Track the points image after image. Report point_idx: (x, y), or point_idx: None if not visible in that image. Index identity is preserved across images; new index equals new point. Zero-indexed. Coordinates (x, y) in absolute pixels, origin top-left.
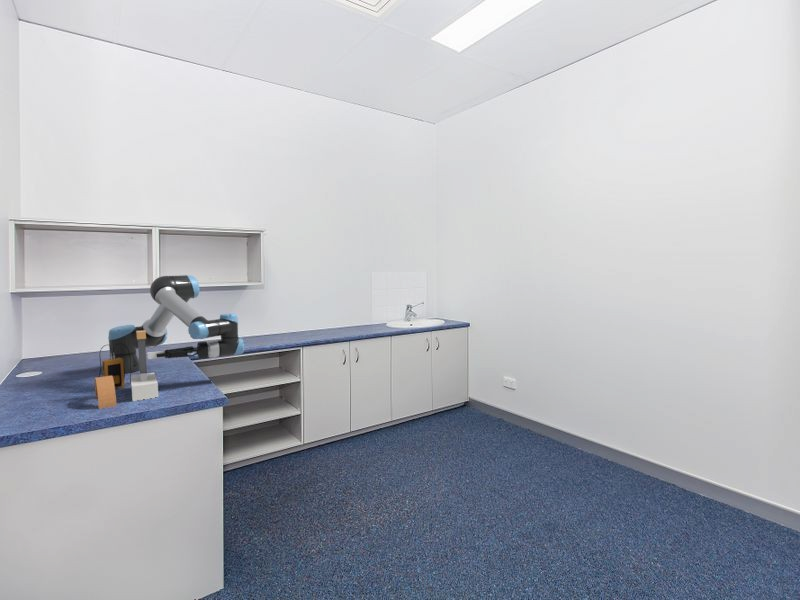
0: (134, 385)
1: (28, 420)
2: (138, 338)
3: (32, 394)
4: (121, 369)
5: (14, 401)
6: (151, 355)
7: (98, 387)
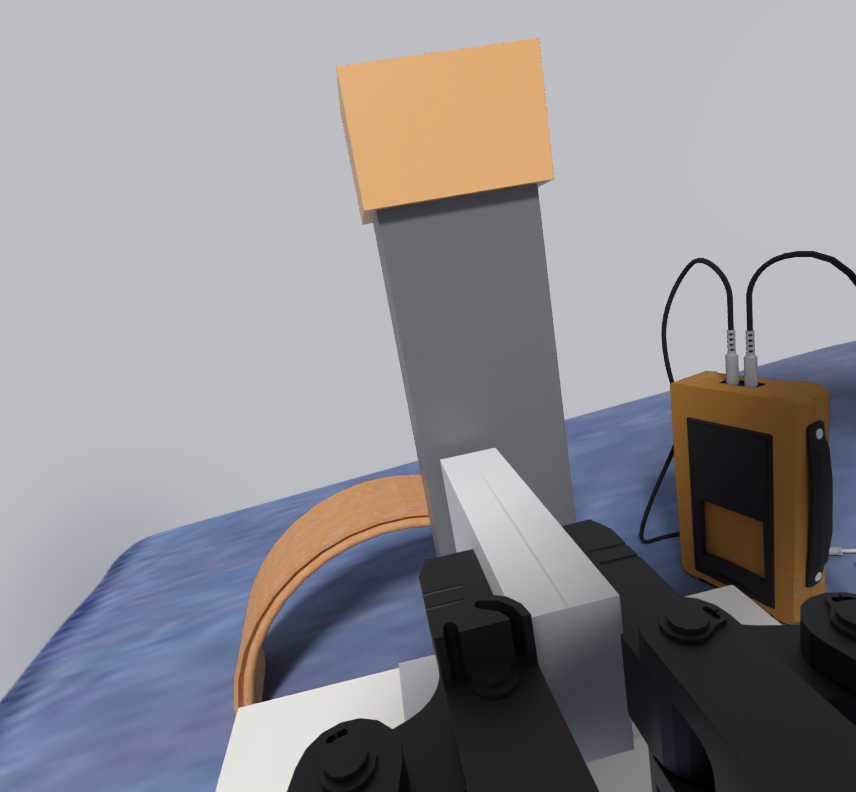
0: (267, 718)
1: (278, 520)
2: (360, 210)
3: (639, 425)
4: (777, 487)
5: None
6: (458, 526)
7: (275, 546)
